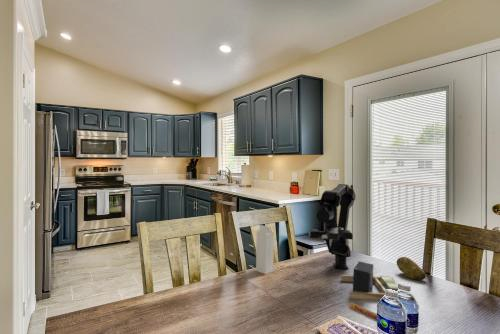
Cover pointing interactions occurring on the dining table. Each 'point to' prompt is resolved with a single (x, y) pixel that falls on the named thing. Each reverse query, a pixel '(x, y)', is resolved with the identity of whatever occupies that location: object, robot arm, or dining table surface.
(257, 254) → the milk
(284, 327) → the dining table surface
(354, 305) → the chocolate bar
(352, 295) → the light tan flat part
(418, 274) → the potato
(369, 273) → the small box
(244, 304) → the dining table surface
